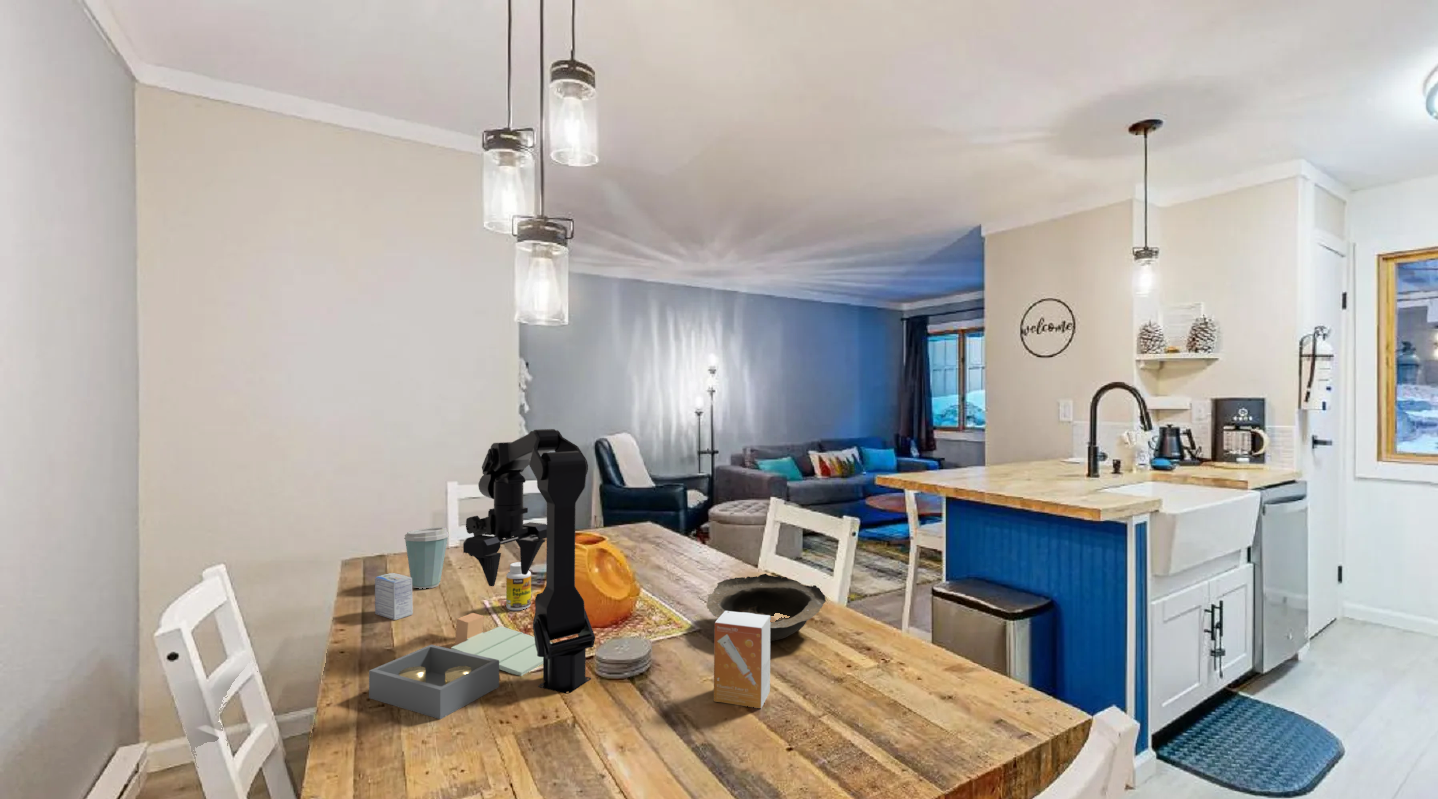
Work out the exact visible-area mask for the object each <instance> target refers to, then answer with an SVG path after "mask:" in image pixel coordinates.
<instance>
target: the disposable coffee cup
mask: <svg viewBox="0 0 1438 799" xmlns="http://www.w3.org/2000/svg"><path fill="white" fill-rule="evenodd" d="M449 537H450V534H449V531H448V528H447V527H443V526H442V527H439V526H438V527H428V528H420V529H414V530H410V531H409V532H407V533H406V534H405V535H404V541H405V548H406V554H407V563H408V569H409V577H411V578H412V589H414V588H419V589H418V590H427V589H426V588H429V589H433V588H436V587H438V586H440V583H441V579H442V573H443V568H444V562H445V561H444V560H445V557H446V556H445V555H446V550H447V544H448V538H449ZM422 588H423V589H422Z"/></svg>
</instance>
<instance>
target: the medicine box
mask: <svg viewBox="0 0 1438 799" xmlns="http://www.w3.org/2000/svg"><path fill="white" fill-rule="evenodd" d="M374 610H375V611H374V613H375V615H376V616H377V615H378V616H380V617H384V618H388V619H390V620H393V621H396V620H400V619H404V618H406V617H410V616H412V615H413V614H414V613H413V611H414V609H413V586H412V578H411V577H410V576H407V575H404V574H399V573H394V572H389V573H385V574H382V575H378V576H375V578H374Z"/></svg>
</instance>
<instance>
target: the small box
mask: <svg viewBox="0 0 1438 799" xmlns="http://www.w3.org/2000/svg"><path fill="white" fill-rule="evenodd" d="M770 620H771V616H770V615H760V614H753V613H745V612H732V611H725V612H724V613H723V614H722V615H721V616H720V617H717V619H716V621H715V622H714V635H713V636H714V641H713V642H714V644H713V652H714V653H713V701H714V702H715V703H717V702H718V703H724V704H729V705H737V706H743V707H747V706H748V708H753V707H754V709H757V708H761V709H762V708H763V706H764V704H765V702H766V700H767V698H768V695H769V694H770V691H771V641H770Z"/></svg>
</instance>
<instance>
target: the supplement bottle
mask: <svg viewBox="0 0 1438 799" xmlns="http://www.w3.org/2000/svg"><path fill="white" fill-rule="evenodd" d="M505 579H506V580H505V581H506V586H505V588H506V590H505V591H506V594H505V596H506V597H505V598H506V600H505V603H506V605H505V606H506V609H507V610H509V611H523V609H524V610H527V609H528V608H530V607H531V604H532V573H531V571H530V570H529V571H528V573H527V574H526V575H523V574H522V572H521V561H518V562H517V561H516V562H512V563H510V565H509V572H507V573H506V578H505ZM526 608H527V609H526Z"/></svg>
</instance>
